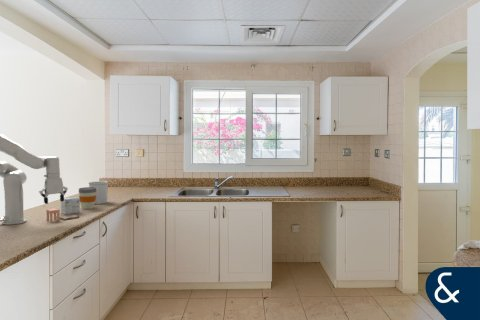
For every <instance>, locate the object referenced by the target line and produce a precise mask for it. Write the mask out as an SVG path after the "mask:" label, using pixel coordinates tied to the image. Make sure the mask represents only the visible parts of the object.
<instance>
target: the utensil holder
mask: <svg viewBox="0 0 480 320" xmlns="http://www.w3.org/2000/svg"><path fill="white" fill-rule="evenodd" d="M108 184H109V181H106V180H101V181H100V180H99V181H97V180H94V181H88V187H94V188H96V200H95V203H94V205H102V204H107V203H108V188H109V185H108Z"/></svg>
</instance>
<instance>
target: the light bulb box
mask: <svg viewBox="0 0 480 320" xmlns="http://www.w3.org/2000/svg"><path fill="white" fill-rule="evenodd" d="M80 209H81V202H80V198H79V196H74V197H73V196H70V197H64V201H60V212H61V213H60V214H61V215H62V214H63V215H69V214H79V213H80V212H81V211H80Z"/></svg>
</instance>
